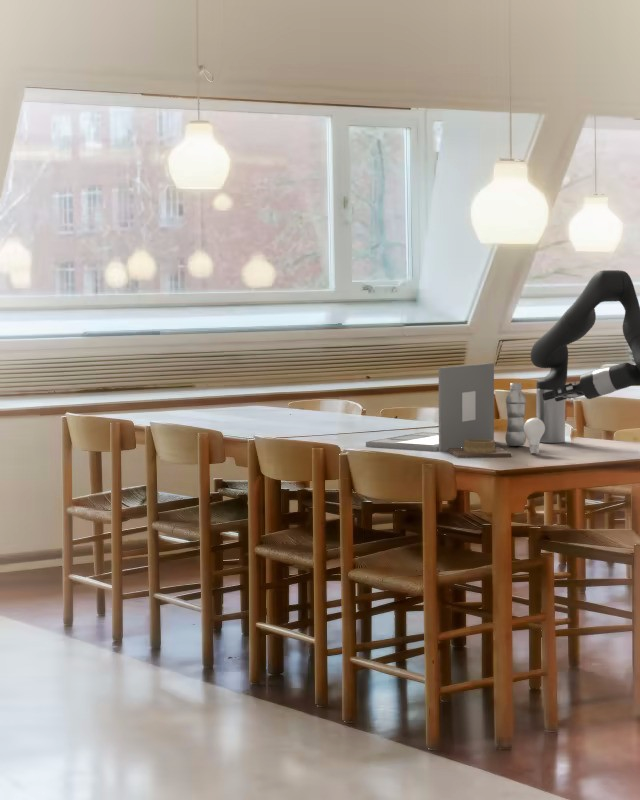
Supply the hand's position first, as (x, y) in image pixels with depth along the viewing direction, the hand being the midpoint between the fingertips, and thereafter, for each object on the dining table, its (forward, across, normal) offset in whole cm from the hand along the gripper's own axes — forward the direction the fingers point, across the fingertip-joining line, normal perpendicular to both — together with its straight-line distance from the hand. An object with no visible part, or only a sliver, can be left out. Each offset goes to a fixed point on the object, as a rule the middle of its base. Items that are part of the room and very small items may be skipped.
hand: (549, 397), depth 384 cm
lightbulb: (+10, -2, +15) cm, 18 cm away
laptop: (+48, -12, +2) cm, 50 cm away
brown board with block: (+24, +5, +11) cm, 27 cm away
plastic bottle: (+23, -19, +9) cm, 31 cm away
